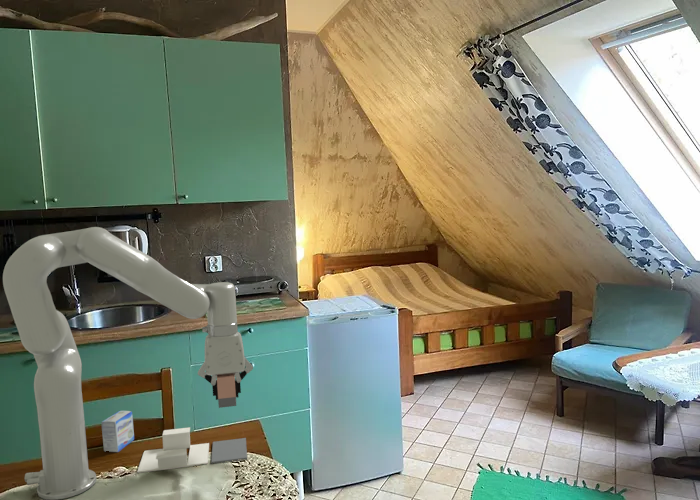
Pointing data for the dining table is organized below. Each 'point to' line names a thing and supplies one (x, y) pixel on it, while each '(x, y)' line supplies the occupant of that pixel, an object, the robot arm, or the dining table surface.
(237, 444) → the mat
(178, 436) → the carton
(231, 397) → the box
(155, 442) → the dining table surface
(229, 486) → the dining table surface
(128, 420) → the medicine box
